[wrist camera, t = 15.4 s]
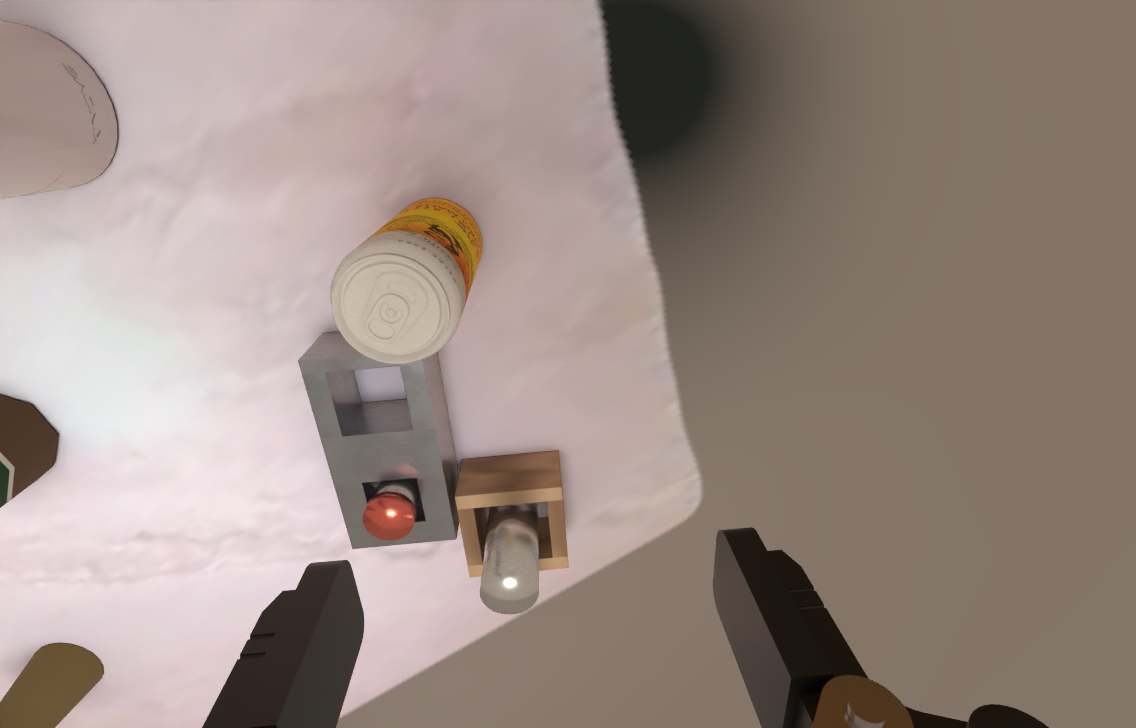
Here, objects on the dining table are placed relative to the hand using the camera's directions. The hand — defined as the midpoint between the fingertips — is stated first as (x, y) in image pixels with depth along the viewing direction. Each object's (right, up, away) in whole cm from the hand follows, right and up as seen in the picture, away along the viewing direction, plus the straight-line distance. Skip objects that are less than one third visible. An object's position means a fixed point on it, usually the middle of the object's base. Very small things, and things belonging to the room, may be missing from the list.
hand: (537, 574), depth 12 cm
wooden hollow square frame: (-4, -7, +36) cm, 37 cm away
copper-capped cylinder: (-13, -4, +34) cm, 36 cm away
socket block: (-13, 0, +33) cm, 35 cm away
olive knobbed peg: (-47, -24, +42) cm, 67 cm away
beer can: (-8, +13, +27) cm, 32 cm away
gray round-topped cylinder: (-4, -7, +36) cm, 37 cm away
